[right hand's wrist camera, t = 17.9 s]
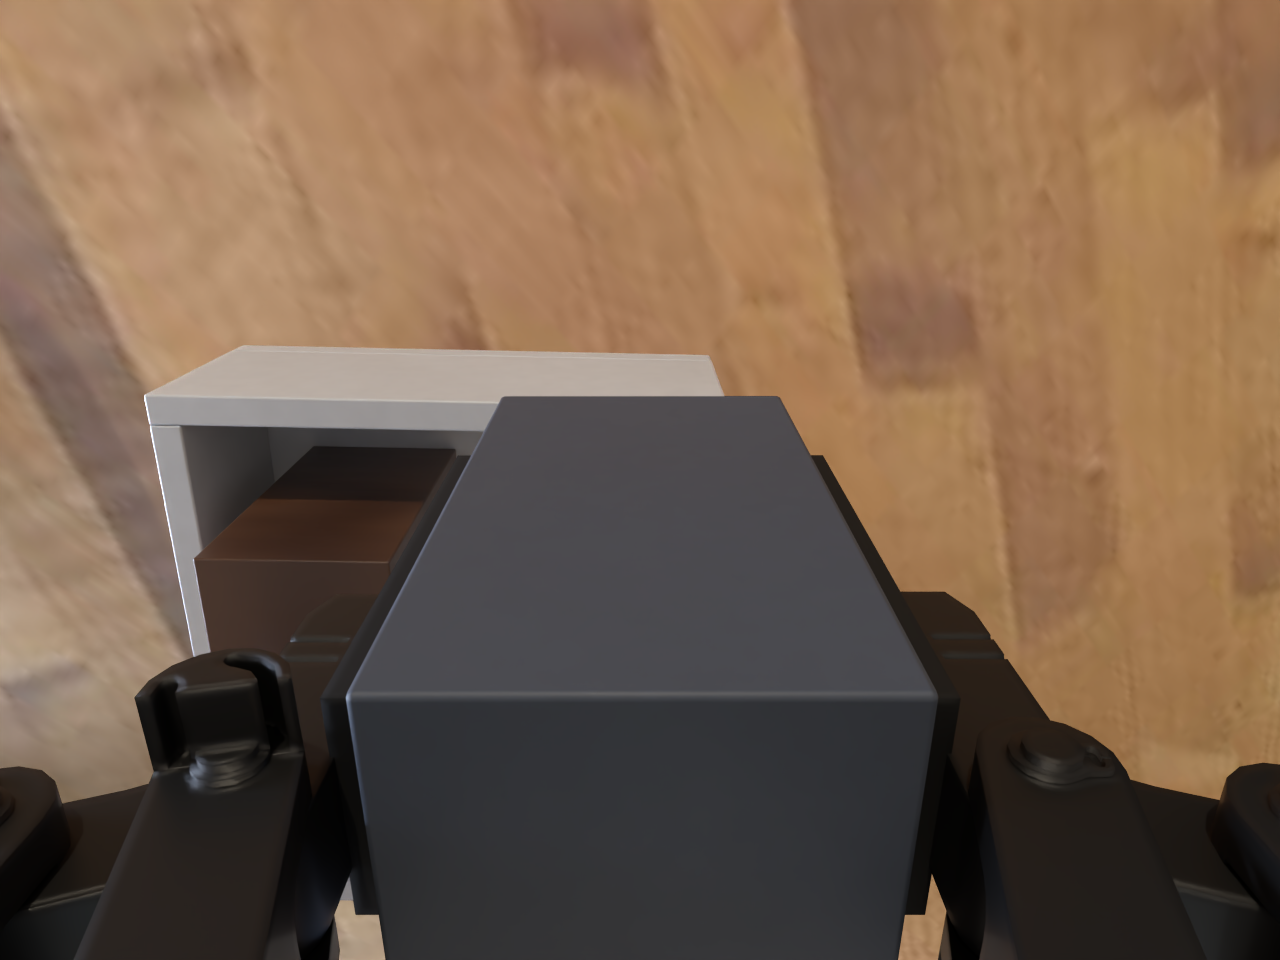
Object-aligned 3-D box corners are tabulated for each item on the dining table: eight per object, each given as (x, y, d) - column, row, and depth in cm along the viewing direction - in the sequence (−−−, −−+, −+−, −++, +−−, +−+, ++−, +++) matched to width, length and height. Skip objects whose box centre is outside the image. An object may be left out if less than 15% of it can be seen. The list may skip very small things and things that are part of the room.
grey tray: (675, 1004, 37) (682, 1149, 32) (337, 1000, 37) (286, 1146, 32) (710, 354, 27) (729, 406, 22) (241, 344, 27) (142, 394, 21)
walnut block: (328, 573, 29) (221, 721, 21) (313, 445, 27) (191, 558, 20) (463, 575, 29) (404, 725, 21) (456, 448, 27) (389, 562, 20)
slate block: (515, 635, 16) (403, 1093, 8) (500, 394, 14) (340, 695, 6) (765, 635, 16) (880, 1093, 8) (780, 394, 14) (943, 694, 6)
